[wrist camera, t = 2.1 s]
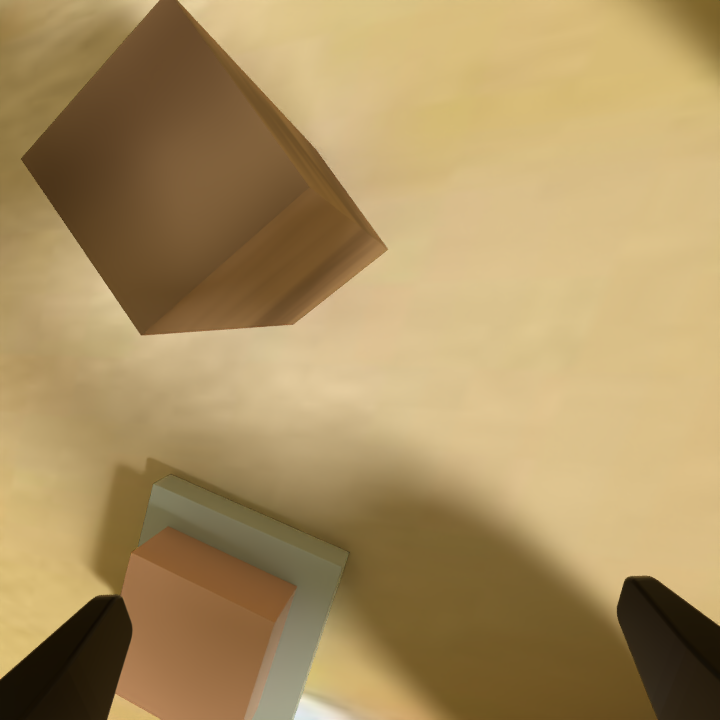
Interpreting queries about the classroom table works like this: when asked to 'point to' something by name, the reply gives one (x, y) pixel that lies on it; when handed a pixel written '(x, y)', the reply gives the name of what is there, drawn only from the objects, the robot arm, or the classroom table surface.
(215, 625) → the terracotta tile
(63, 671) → the robot arm
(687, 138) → the classroom table surface
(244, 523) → the grey flat square slab
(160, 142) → the walnut pillar
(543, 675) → the classroom table surface
